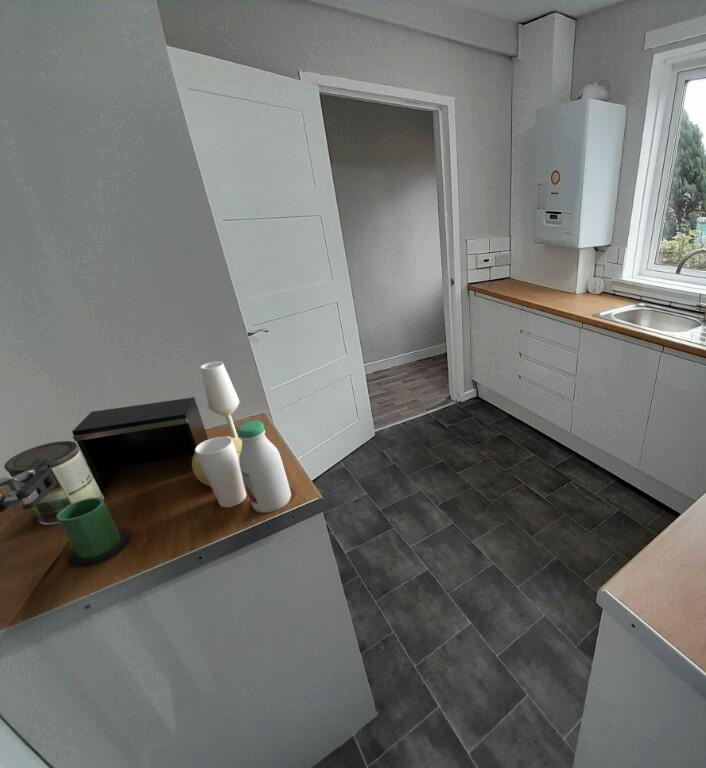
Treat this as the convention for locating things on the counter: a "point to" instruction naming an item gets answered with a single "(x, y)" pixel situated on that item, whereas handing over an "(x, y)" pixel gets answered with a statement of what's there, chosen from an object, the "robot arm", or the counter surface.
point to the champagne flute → (220, 392)
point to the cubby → (138, 436)
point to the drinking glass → (222, 470)
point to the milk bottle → (262, 469)
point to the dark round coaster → (102, 557)
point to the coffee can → (58, 477)
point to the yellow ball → (197, 468)
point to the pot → (89, 527)
